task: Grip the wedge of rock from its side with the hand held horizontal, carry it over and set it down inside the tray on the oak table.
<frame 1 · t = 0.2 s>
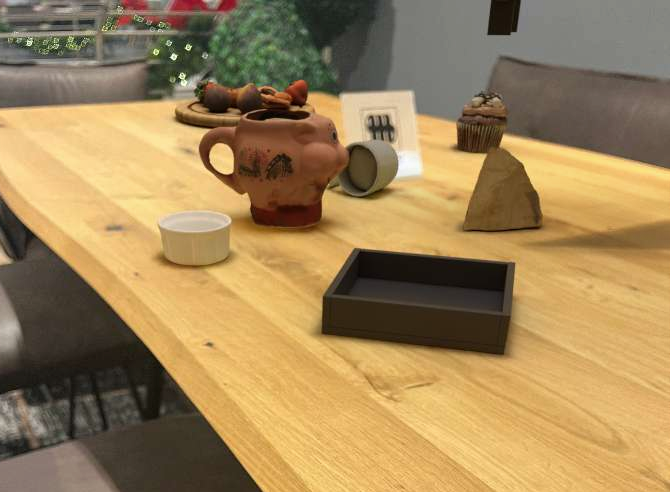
hand: (502, 34, 96), 23 cm above the table, tool pointing down, fingers open, 13 cm apart
tray: (420, 314, 79), on the table
cupcake: (477, 149, 150), on the table
ceramic mug: (358, 192, 121), on the table
rock: (502, 228, 106), on the table
ramekin: (196, 257, 94), on the table
wooden plate: (245, 118, 176), on the table
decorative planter: (274, 223, 106), on the table
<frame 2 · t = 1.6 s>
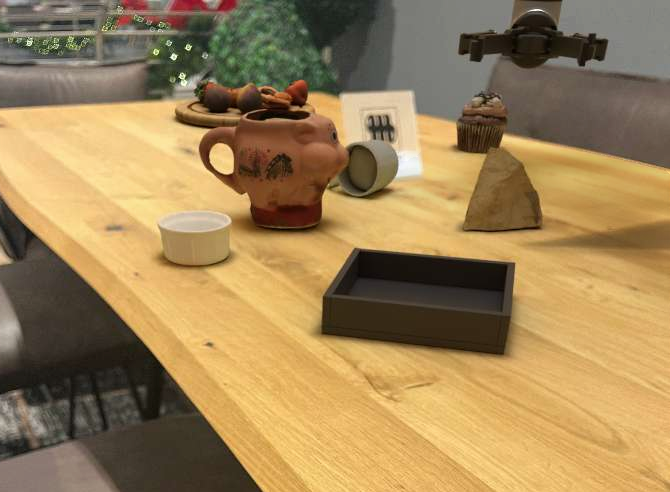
hand: (531, 52, 101), 20 cm above the table, tool horizontal, fingers open, 13 cm apart
nothing on the table moved.
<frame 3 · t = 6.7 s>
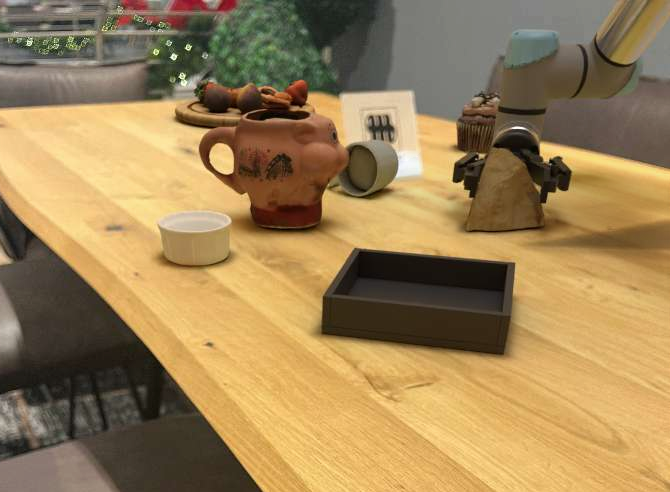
hand: (508, 189, 98), 6 cm above the table, tool horizontal, fingers closed on rock, 8 cm apart
rock: (504, 228, 106), on the table, touching gripper
everything else where it was.
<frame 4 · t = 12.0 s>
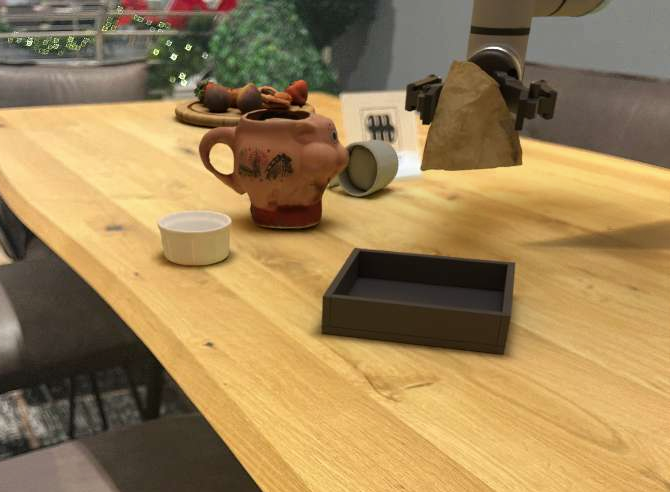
hand: (473, 112, 75), 18 cm above the table, tool horizontal, fingers closed on rock, 8 cm apart
rock: (471, 169, 82), point 12 cm above the table, touching gripper
everything else where it was.
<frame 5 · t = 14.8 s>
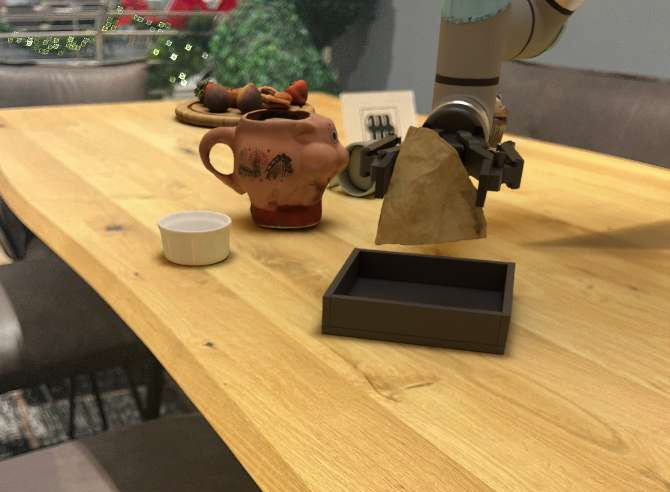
hand: (429, 187, 68), 14 cm above the table, tool horizontal, fingers closed on rock, 8 cm apart
rock: (431, 242, 75), point 7 cm above the table, touching gripper
everything else where it was.
when the fingers open (7 cm above the table, at t = 17.3 s): rock stays where it is, resting on tray.
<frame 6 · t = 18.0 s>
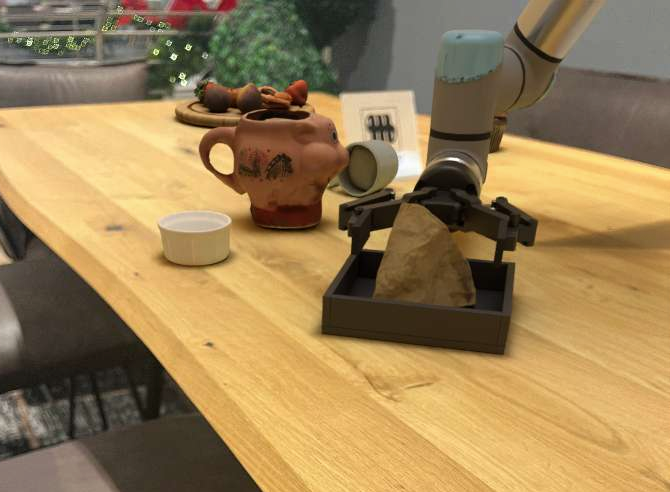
hand: (425, 247, 72), 8 cm above the table, tool horizontal, fingers open, 13 cm apart
rock: (423, 308, 79), point 1 cm above the table, touching tray
everything else where it was.
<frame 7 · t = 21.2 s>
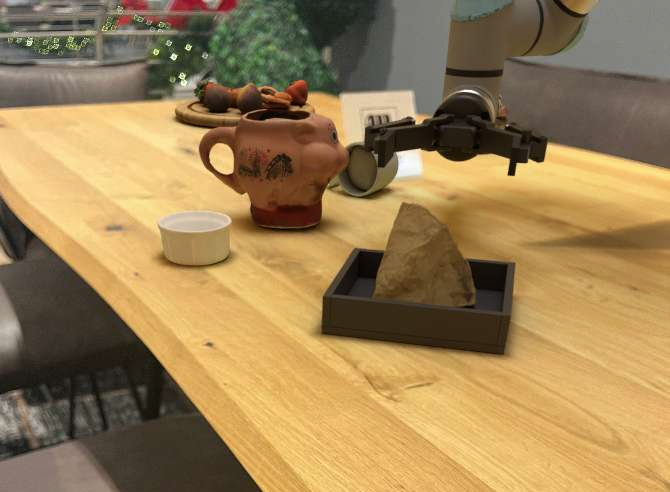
hand: (446, 158, 79), 13 cm above the table, tool horizontal, fingers open, 13 cm apart
nothing on the table moved.
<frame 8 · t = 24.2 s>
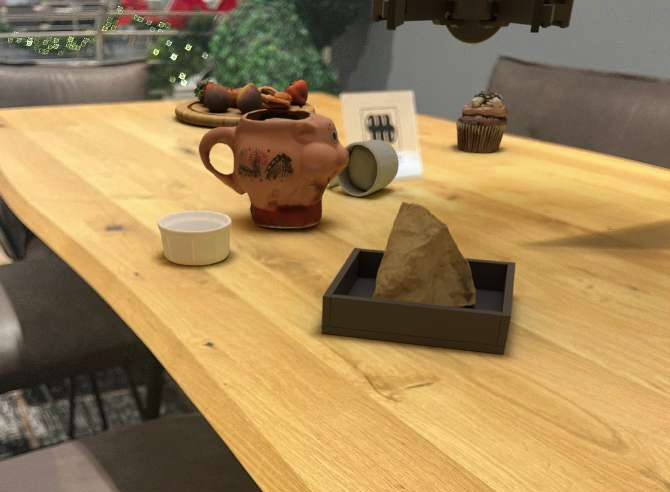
hand: (462, 13, 72), 26 cm above the table, tool horizontal, fingers open, 13 cm apart
nothing on the table moved.
at the end: rock inside the target area in the tray (0.3 cm from its centre), point 0.6 cm above the tray's base; rock tilted 1°; the gripper is holding nothing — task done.
